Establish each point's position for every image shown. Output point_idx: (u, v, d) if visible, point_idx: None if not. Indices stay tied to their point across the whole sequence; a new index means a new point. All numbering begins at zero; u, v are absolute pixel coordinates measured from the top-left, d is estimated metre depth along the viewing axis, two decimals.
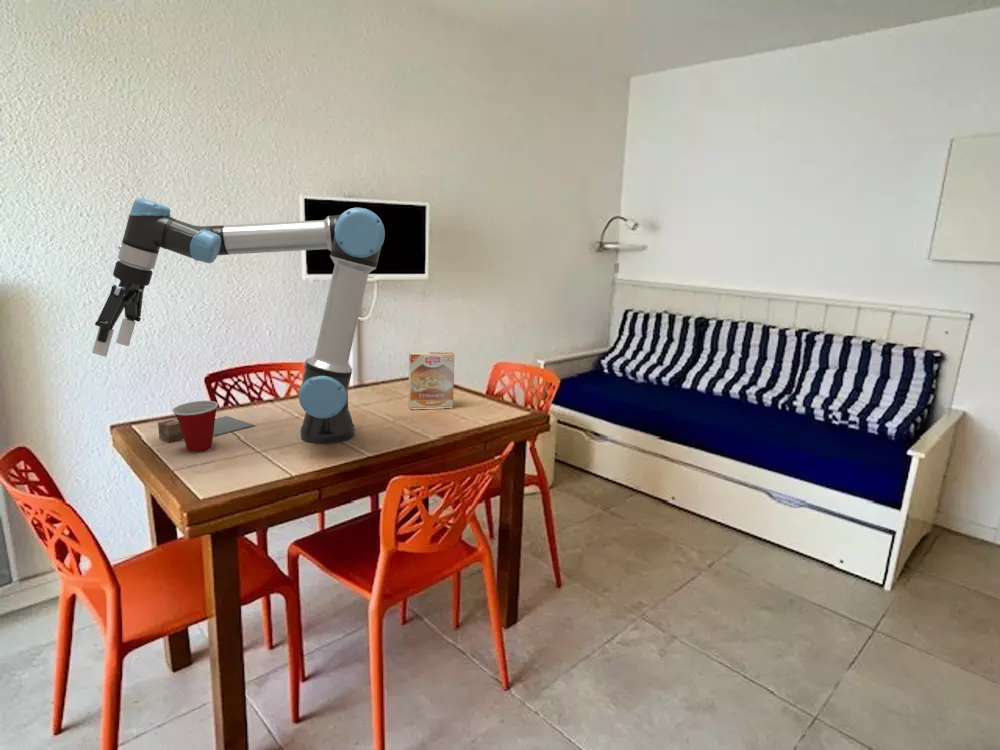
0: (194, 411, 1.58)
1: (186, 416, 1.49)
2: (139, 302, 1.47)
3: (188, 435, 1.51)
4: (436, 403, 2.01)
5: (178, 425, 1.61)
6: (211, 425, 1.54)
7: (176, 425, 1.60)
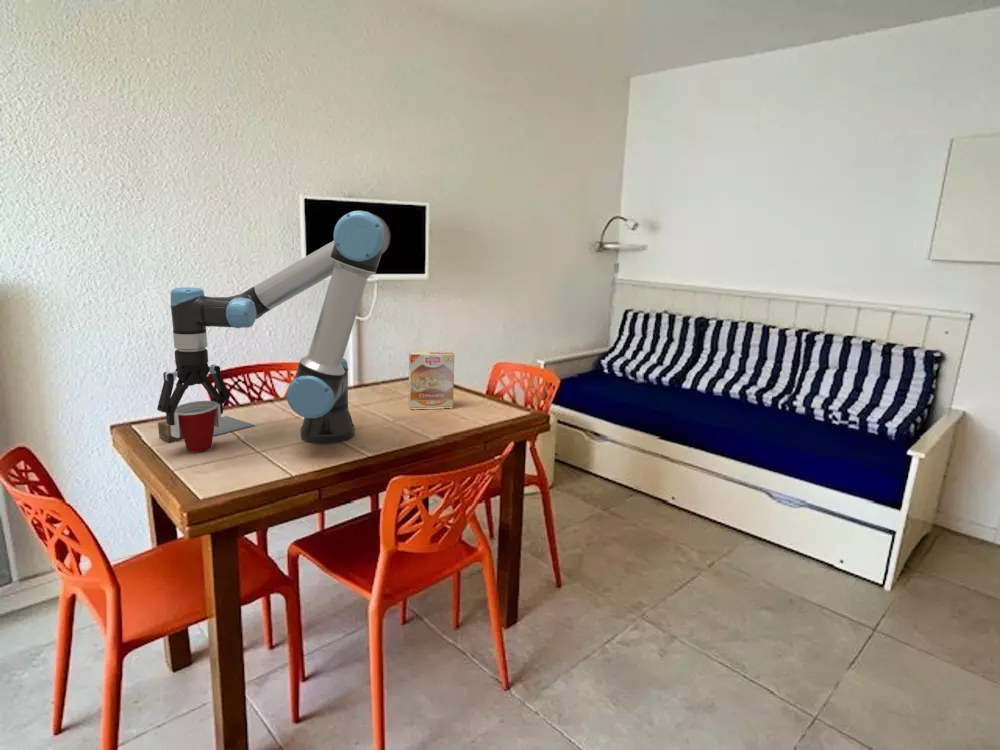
0: (194, 411, 1.57)
1: (185, 416, 1.49)
2: (219, 384, 1.57)
3: (188, 435, 1.51)
4: (436, 403, 2.01)
5: None
6: (211, 425, 1.54)
7: None
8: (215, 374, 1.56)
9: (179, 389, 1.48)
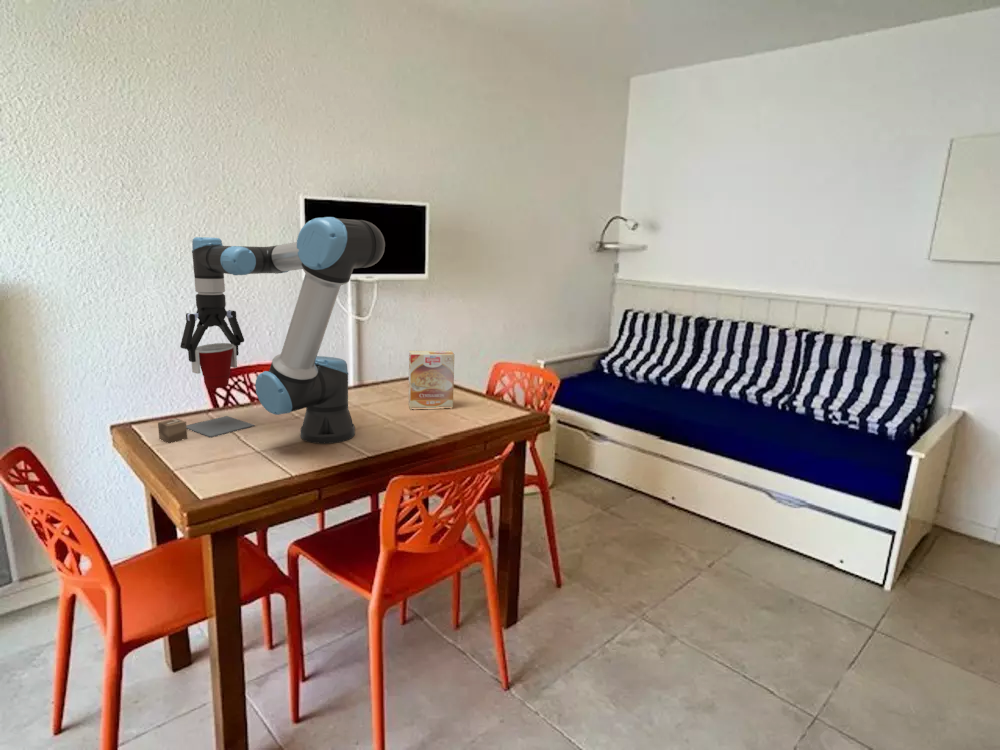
0: None
1: (205, 354, 1.64)
2: (235, 327, 1.73)
3: (207, 372, 1.67)
4: (436, 403, 2.01)
5: (178, 425, 1.61)
6: (228, 364, 1.70)
7: (176, 425, 1.60)
8: (231, 318, 1.72)
9: (200, 329, 1.64)
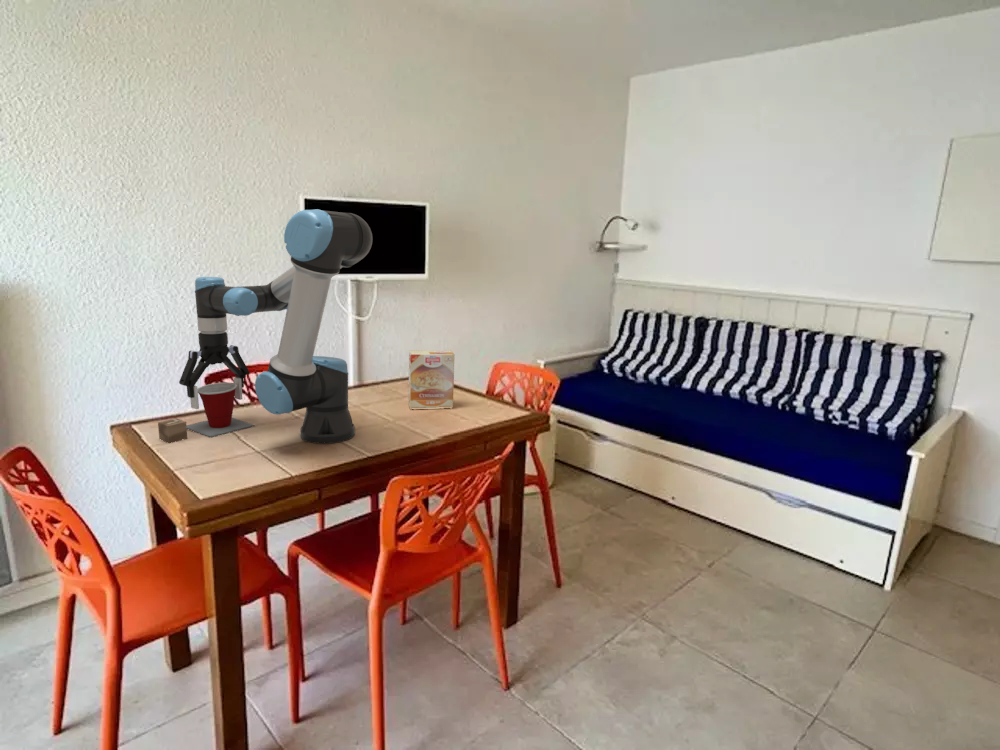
0: (215, 392, 1.76)
1: (209, 395, 1.67)
2: (239, 362, 1.76)
3: (210, 412, 1.70)
4: (436, 403, 2.01)
5: (178, 425, 1.61)
6: (231, 404, 1.72)
7: (176, 425, 1.60)
8: (234, 353, 1.74)
9: (201, 366, 1.66)
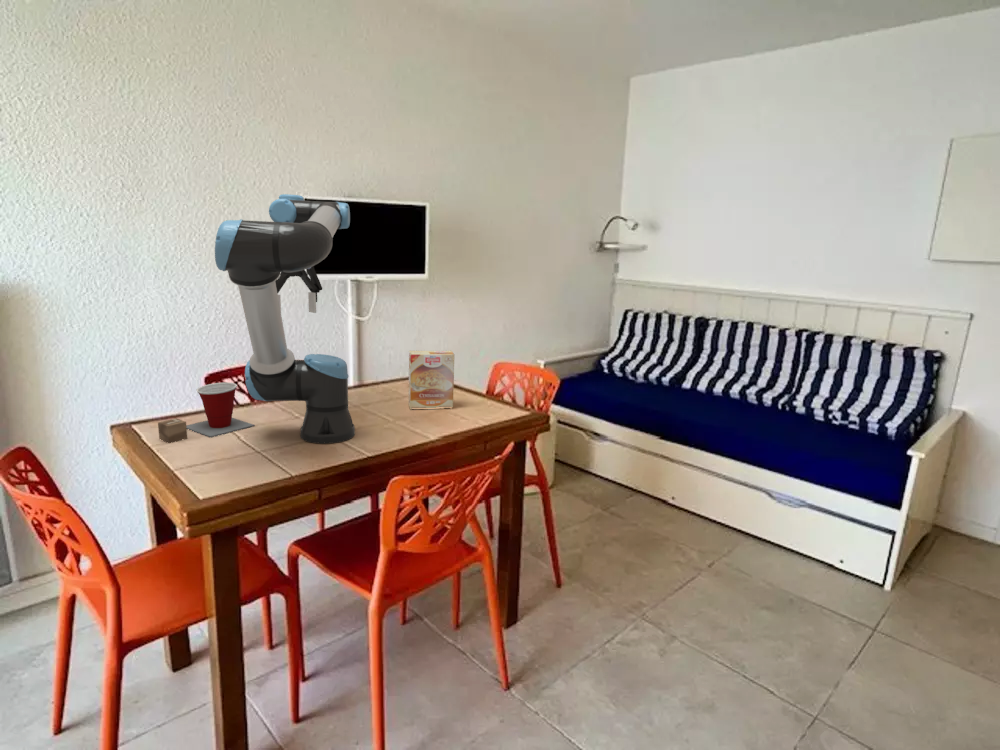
0: (215, 392, 1.76)
1: (209, 395, 1.67)
2: (314, 277, 1.91)
3: (210, 412, 1.70)
4: (436, 403, 2.01)
5: (178, 425, 1.61)
6: (231, 404, 1.72)
7: (176, 425, 1.60)
8: (310, 269, 1.90)
9: (283, 277, 1.82)
